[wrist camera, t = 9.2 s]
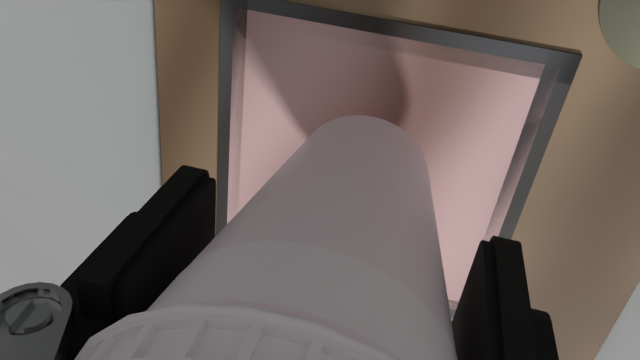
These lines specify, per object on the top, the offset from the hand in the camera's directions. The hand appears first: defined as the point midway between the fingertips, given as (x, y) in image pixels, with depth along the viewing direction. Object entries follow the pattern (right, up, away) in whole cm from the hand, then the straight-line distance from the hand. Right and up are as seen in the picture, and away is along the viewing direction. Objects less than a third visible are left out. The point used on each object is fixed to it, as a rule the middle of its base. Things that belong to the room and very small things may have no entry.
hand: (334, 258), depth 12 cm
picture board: (+2, +3, +5) cm, 6 cm away
